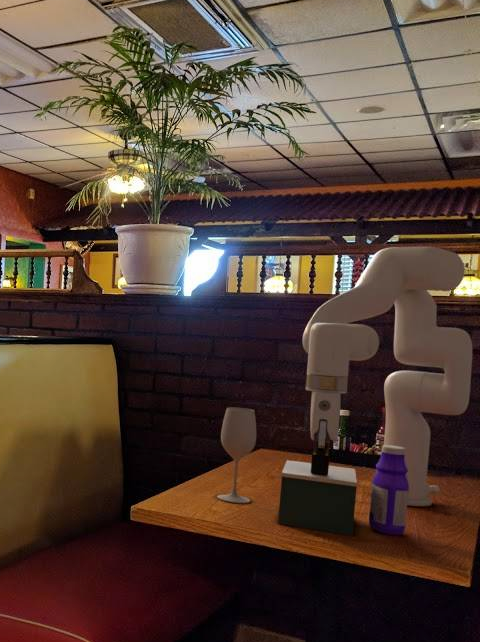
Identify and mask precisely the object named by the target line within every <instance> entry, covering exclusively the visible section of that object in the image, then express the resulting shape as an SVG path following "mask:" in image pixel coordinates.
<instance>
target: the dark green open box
mask: <svg viewBox="0 0 480 642" xmlns="http://www.w3.org/2000/svg"><path fill="white" fill-rule="evenodd" d="M280 481H281V482H280V492H279V493H280V494H279V507H278V521H277V524H278V525H279V524H280V525H283V526H284V525H285V526H291V527H297V528H303V529H310V530H316V531H321V532H327V533H334V534H340V535H346V536H353V533H354V522H355V510H356V498H357V487H358V486H357V487H356V486H348V485H341V484H333V483H326V482H319V481H311V480H304V479H296V478H289V477H282V476H281V480H280Z"/></svg>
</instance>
